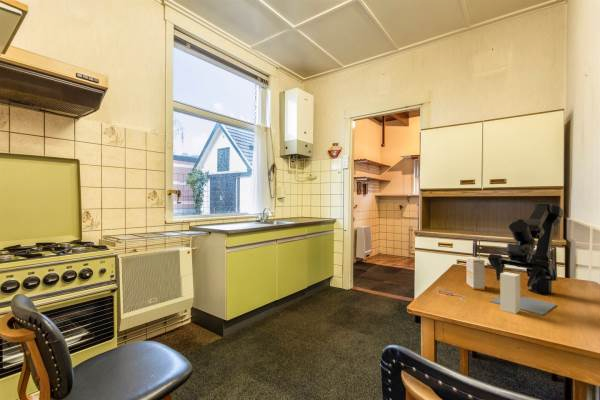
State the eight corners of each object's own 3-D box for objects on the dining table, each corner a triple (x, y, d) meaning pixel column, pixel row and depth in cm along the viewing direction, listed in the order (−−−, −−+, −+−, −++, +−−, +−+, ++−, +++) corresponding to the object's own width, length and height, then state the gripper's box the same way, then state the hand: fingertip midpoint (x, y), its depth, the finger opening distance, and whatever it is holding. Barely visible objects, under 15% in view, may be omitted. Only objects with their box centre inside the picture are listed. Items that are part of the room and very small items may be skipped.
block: (505, 307, 105) (505, 271, 104) (520, 310, 101) (520, 274, 101) (500, 309, 102) (500, 273, 102) (515, 313, 98) (515, 276, 98)
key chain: (432, 294, 120) (432, 292, 120) (441, 290, 124) (441, 289, 124) (464, 303, 109) (464, 300, 109) (473, 299, 114) (473, 297, 114)
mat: (506, 293, 119) (506, 292, 119) (556, 305, 106) (556, 304, 106) (490, 301, 110) (490, 300, 110) (542, 315, 97) (542, 314, 97)
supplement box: (485, 290, 124) (485, 260, 124) (473, 289, 125) (473, 259, 125) (477, 284, 132) (477, 256, 132) (466, 284, 133) (466, 256, 133)
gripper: (489, 233, 113) (477, 264, 107) (550, 238, 98) (540, 275, 92) (497, 251, 118) (486, 282, 111) (557, 258, 103) (547, 295, 96)
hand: (512, 283), depth 103 cm, fingers open, 9 cm apart
